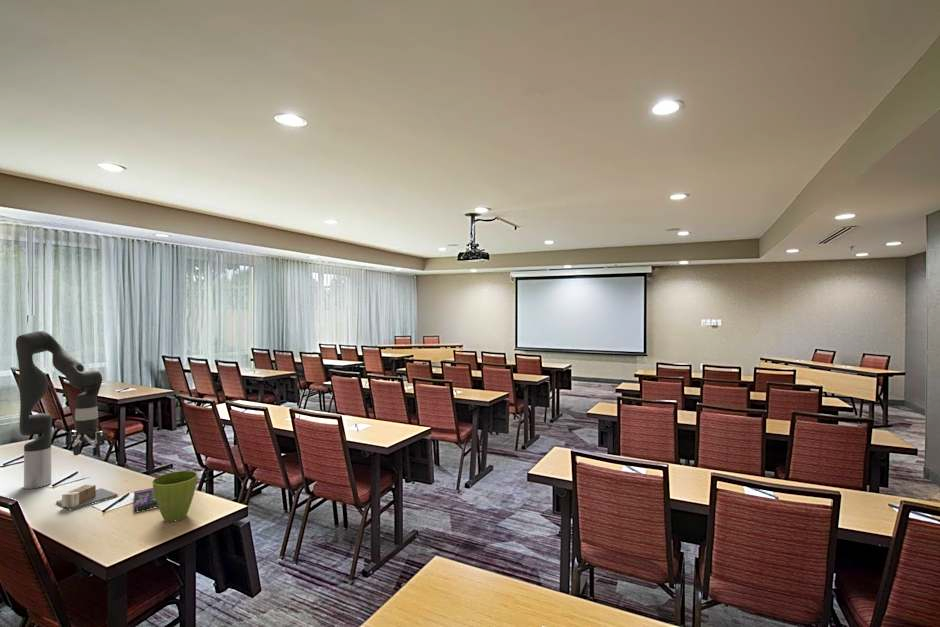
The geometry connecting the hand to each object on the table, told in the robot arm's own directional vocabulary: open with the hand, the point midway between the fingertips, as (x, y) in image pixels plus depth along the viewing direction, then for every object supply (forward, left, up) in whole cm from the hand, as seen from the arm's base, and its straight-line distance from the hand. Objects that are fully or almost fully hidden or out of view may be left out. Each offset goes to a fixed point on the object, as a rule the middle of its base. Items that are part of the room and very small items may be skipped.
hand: (86, 455), depth 192 cm
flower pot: (+50, +9, -20) cm, 55 cm away
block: (-1, +2, -16) cm, 16 cm away
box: (+25, +14, -20) cm, 35 cm away
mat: (-1, +1, -20) cm, 20 cm away
